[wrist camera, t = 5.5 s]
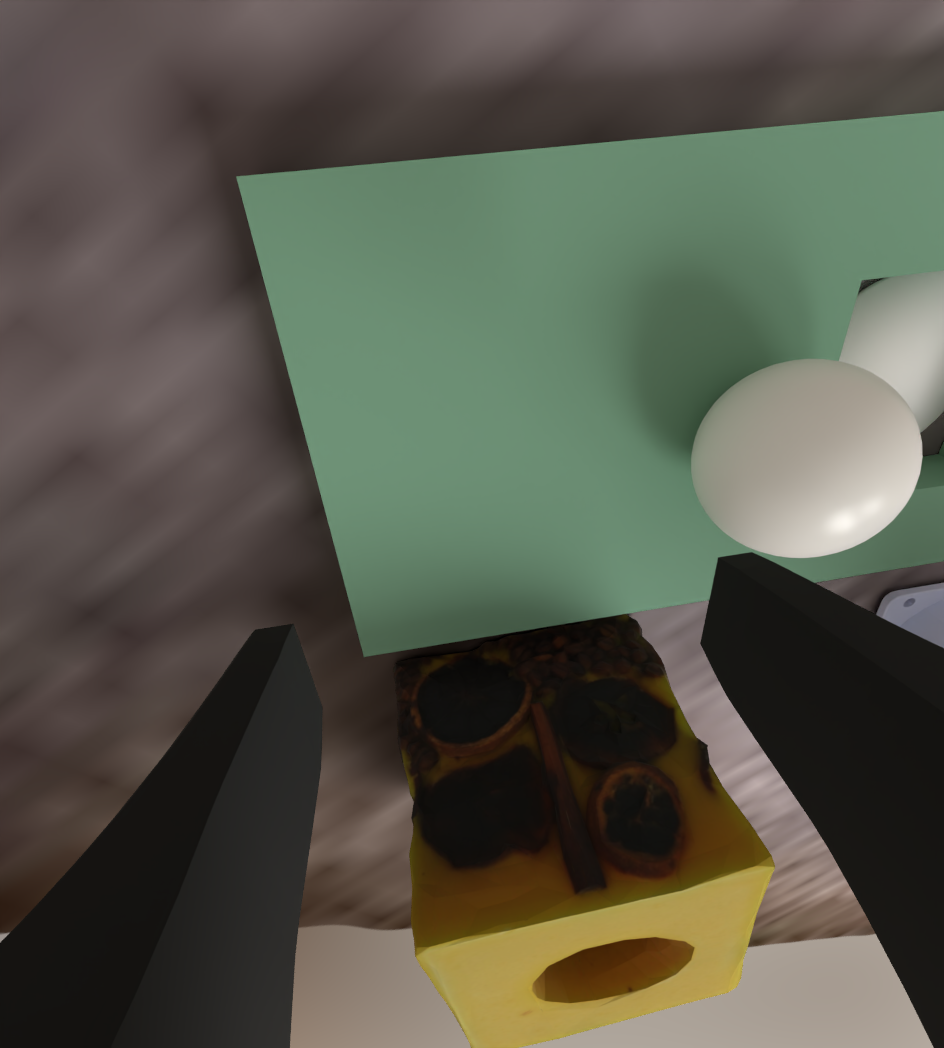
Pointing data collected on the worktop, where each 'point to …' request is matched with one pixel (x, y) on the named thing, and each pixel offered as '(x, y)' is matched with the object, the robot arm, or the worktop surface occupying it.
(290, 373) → the green mat
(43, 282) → the worktop surface
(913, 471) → the ball
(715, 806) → the yellow cube with hole
